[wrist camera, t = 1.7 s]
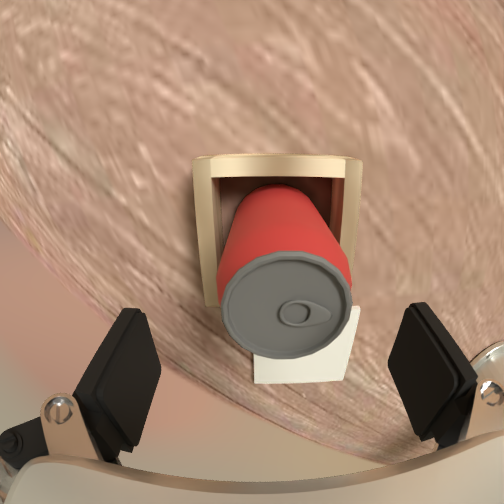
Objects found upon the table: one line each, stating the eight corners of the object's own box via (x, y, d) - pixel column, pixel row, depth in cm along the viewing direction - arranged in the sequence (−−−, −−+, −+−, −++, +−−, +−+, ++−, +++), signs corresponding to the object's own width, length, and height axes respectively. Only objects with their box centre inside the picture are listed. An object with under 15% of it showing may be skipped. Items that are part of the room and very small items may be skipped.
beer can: (307, 266, 24) (337, 372, 13) (229, 255, 24) (204, 358, 13) (325, 190, 21) (385, 253, 10) (240, 176, 21) (214, 226, 10)
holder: (347, 156, 20) (362, 160, 17) (337, 283, 24) (346, 305, 21) (202, 155, 21) (191, 160, 17) (212, 284, 25) (205, 306, 22)
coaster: (358, 305, 25) (360, 309, 25) (341, 376, 29) (342, 380, 29) (252, 308, 26) (252, 311, 25) (254, 379, 30) (254, 383, 29)
